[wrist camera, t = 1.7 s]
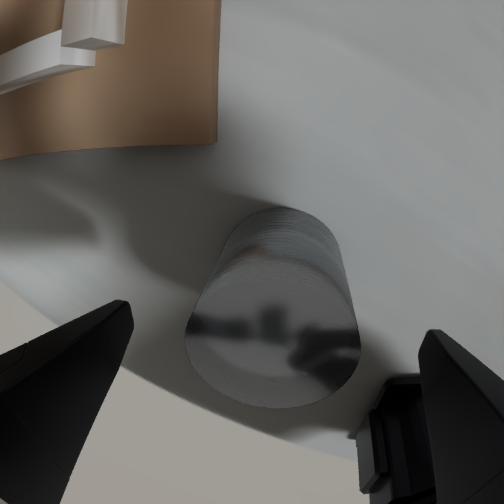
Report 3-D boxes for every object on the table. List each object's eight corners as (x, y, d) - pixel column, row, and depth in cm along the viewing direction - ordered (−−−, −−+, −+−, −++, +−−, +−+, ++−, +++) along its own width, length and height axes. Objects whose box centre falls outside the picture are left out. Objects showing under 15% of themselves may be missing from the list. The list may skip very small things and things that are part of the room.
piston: (349, 213, 11) (380, 288, 7) (331, 316, 13) (339, 412, 9) (223, 203, 12) (176, 270, 7) (224, 306, 13) (192, 397, 9)
